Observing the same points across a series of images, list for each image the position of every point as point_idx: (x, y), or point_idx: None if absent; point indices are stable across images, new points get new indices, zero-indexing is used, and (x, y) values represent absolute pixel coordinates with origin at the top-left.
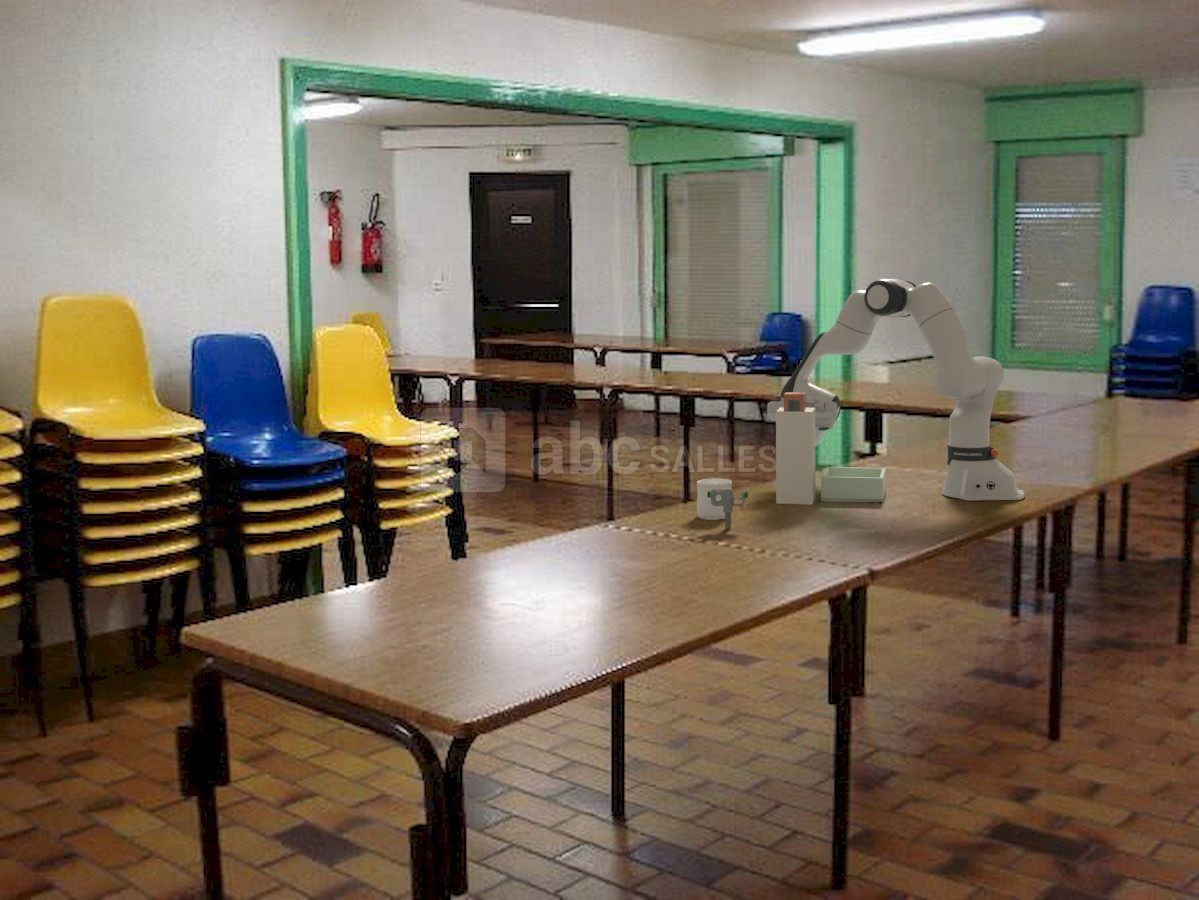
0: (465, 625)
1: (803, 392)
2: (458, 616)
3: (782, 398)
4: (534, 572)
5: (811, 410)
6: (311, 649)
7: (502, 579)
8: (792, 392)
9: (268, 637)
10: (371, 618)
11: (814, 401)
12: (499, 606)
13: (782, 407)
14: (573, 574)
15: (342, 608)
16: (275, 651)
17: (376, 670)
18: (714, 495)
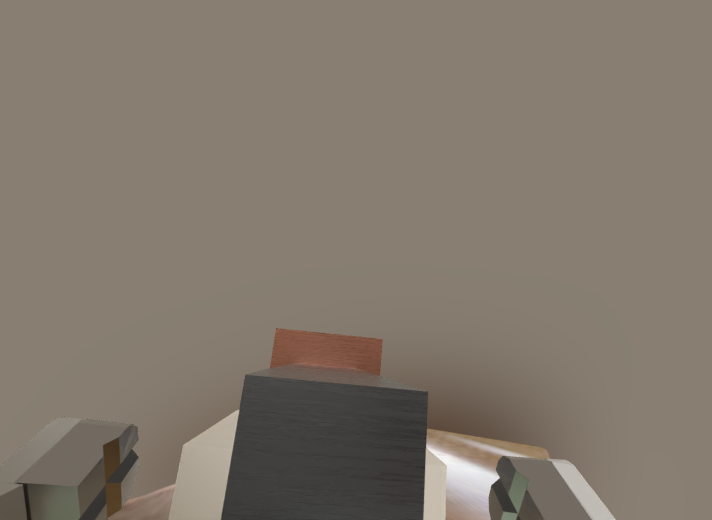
0: (435, 444)
1: (290, 330)
2: (449, 449)
3: (544, 461)
4: (479, 480)
5: (235, 417)
6: (470, 438)
7: (485, 473)
8: (346, 336)
9: (501, 443)
10: (486, 449)
11: (134, 459)
12: (441, 453)
13: (426, 462)
14: (447, 477)
15: (515, 455)
16: (481, 438)
17: (428, 431)
18: None
